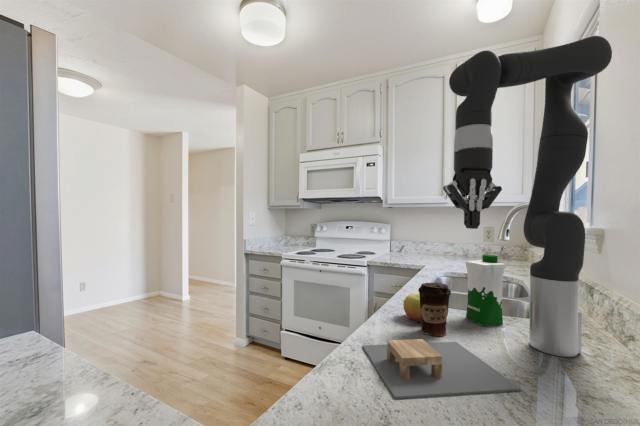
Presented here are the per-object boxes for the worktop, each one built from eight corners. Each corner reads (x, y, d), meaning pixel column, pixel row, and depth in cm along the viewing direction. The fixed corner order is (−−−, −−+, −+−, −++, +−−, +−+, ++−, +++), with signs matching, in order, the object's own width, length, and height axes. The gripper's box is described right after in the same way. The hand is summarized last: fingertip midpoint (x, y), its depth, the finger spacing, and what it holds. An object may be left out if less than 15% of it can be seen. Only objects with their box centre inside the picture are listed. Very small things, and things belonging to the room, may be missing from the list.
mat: (455, 343, 73) (456, 341, 73) (521, 390, 53) (521, 388, 53) (362, 347, 70) (362, 345, 70) (394, 399, 50) (394, 396, 50)
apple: (440, 318, 91) (440, 292, 92) (433, 328, 83) (434, 299, 83) (408, 312, 97) (408, 287, 97) (399, 320, 88) (399, 294, 89)
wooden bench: (422, 339, 65) (387, 340, 64) (442, 356, 57) (402, 358, 56) (421, 357, 65) (387, 358, 64) (441, 377, 57) (402, 379, 56)
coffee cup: (454, 340, 75) (455, 289, 75) (420, 337, 76) (420, 287, 77) (446, 328, 83) (447, 282, 84) (416, 325, 85) (416, 280, 85)
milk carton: (508, 325, 87) (508, 257, 87) (483, 328, 84) (484, 258, 84) (483, 315, 95) (484, 253, 95) (460, 317, 92) (461, 254, 93)
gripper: (488, 154, 69) (487, 228, 69) (435, 151, 67) (434, 227, 67) (513, 147, 62) (512, 229, 61) (454, 143, 60) (453, 228, 60)
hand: (471, 228), depth 64 cm, fingers closed
